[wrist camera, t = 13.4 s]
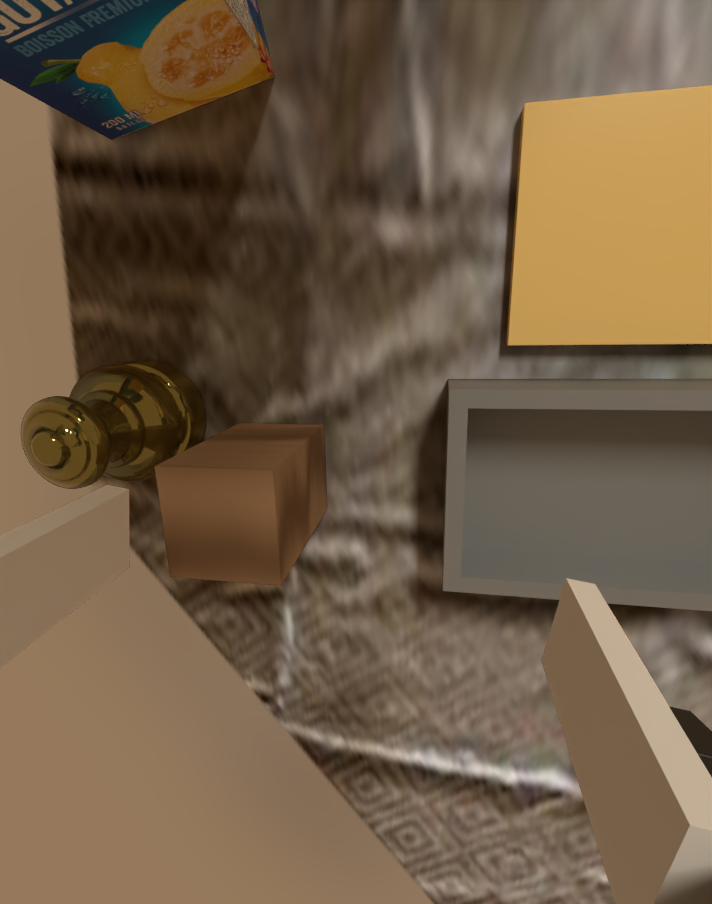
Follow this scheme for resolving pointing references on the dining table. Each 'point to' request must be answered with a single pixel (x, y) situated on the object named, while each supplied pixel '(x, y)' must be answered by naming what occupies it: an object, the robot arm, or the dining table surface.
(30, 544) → the robot arm
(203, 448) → the walnut block
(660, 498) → the tub
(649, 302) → the lid
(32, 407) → the gold tapered round piece
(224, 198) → the dining table surface
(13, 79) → the beverage box
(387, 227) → the dining table surface
